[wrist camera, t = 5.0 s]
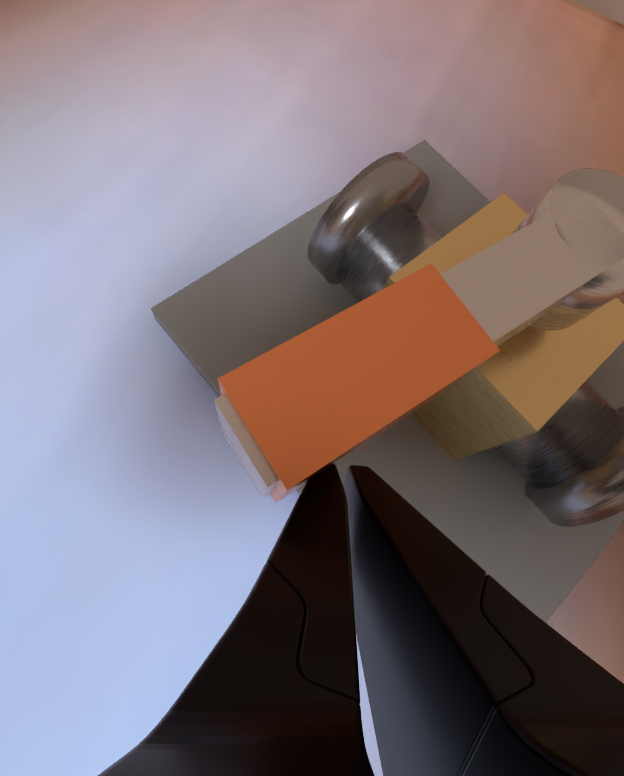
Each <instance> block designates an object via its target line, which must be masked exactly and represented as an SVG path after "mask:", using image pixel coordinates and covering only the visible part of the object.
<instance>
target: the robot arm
mask: <svg viewBox="0 0 624 776" xmlns="http://www.w3.org/2000/svg"><path fill="white" fill-rule="evenodd" d="M356 635H357V640H358V645H359V650H360V656H361V661H362V666H363V671H364V677H365V682H366V687H367V692H368V698H369V703H370V708H371V713H372V719H373V724H374V729H375V734H376V740H377V745H378V750H379V755H380V761H381V766H382V771H383V776H624V684H623V683H622V682H621V681H619V680H618V679H617V678H615V677H614V676H613V675H612V674H610V673H609V672H608V671H606V670H605V669H604V668H603V667H601V666H600V665H599V664H597V663H596V662H595V661H594V660H592V659H591V658H590V657H588V656H587V655H586V654H585V653H583V652H582V651H581V650H579V649H578V648H577V647H576V646H574V645H573V644H572V643H570V642H569V641H568V640H567V639H565V638H564V637H563V636H562V635H560V634H559V633H558V632H557V631H555V630H554V629H553V628H552V627H550V626H549V625H548V624H547V623H545V622H544V621H543V620H542V619H540V618H539V617H538V616H537V615H535V614H534V613H533V612H532V611H531V610H529V609H528V608H527V607H526V606H525V605H524V604H522V603H521V602H520V601H519V600H518V599H517V598H515V597H514V596H513V595H512V594H511V593H510V592H508V591H507V590H506V589H505V588H504V587H503V586H502V585H501V584H499V583H498V582H497V581H496V580H495V579H494V578H493V577H492V576H491V575H486V571H485V570H484V569H482V568H481V567H480V566H479V565H478V564H477V563H476V562H475V561H474V560H472V559H471V558H470V557H469V556H468V555H467V554H466V553H465V552H464V551H462V550H461V549H460V548H459V547H458V546H457V545H456V544H455V543H453V542H452V541H451V540H450V539H449V538H448V537H447V536H446V535H445V534H443V533H442V532H441V531H440V530H439V529H438V528H437V527H436V526H434V525H433V524H432V523H431V522H430V521H429V520H428V519H427V518H426V517H424V516H423V515H422V514H421V513H420V512H419V511H418V510H417V509H416V508H414V507H413V506H412V505H411V504H410V503H409V502H408V501H407V500H405V499H404V498H403V497H402V496H401V495H400V494H399V493H398V492H397V491H395V490H394V489H393V488H392V487H391V486H390V485H389V484H388V483H386V482H385V481H384V480H383V479H382V478H381V477H380V476H379V475H378V474H376V473H375V472H374V471H373V470H372V469H371V468H370V467H368V466H360V465H350V466H349V467H348V468H347V472H346V477H345V482H344V487H343V484H342V481H341V478H340V475H339V472H338V469H337V466H336V465H335V464H332V465H331V466H329V467H327V468H326V469H324V470H323V471H321V472H319V473H318V474H316V475H314V476H313V477H311V478H310V479H308V480H307V482H306V484H305V486H304V488H303V490H302V492H301V494H300V496H299V498H298V500H297V502H296V504H295V506H294V508H293V510H292V512H291V514H290V516H289V518H288V520H287V522H286V524H285V526H284V528H283V530H282V532H281V534H280V536H279V538H278V540H277V542H276V544H275V546H274V548H273V550H272V552H271V554H270V556H269V558H268V560H267V562H266V564H265V565H264V567H263V569H262V571H261V573H260V575H259V577H258V579H257V581H256V583H255V585H254V587H253V588H252V590H251V592H250V594H249V596H248V597H247V599H246V601H245V603H244V604H243V606H242V607H241V609H240V610H239V612H238V613H237V615H236V617H235V618H234V620H233V621H232V623H231V624H230V626H229V627H228V629H227V630H226V632H225V633H224V634H223V636H222V637H221V639H220V640H219V641H218V643H217V644H216V646H215V647H214V648H213V650H212V651H211V653H210V654H209V655H208V657H207V658H206V660H205V661H204V662H203V664H202V665H201V667H200V668H199V669H198V671H197V672H196V674H195V675H194V676H193V678H192V679H191V681H190V682H189V684H188V685H187V686H186V688H185V689H184V691H183V692H182V693H181V695H180V696H179V698H178V699H177V700H176V702H175V703H174V704H173V706H172V707H171V708H170V710H169V711H168V712H167V714H166V715H165V716H164V717H163V718H162V720H161V721H160V722H159V723H158V725H157V726H156V727H155V728H154V729H153V730H152V731H151V732H150V733H149V735H148V736H147V737H146V738H145V739H144V740H143V741H141V742H140V743H139V744H138V745H137V746H136V747H135V748H134V749H132V750H131V751H130V752H129V753H127V754H126V755H125V756H123V757H122V758H121V759H119V760H118V761H117V762H115V763H114V764H113V765H111V766H110V767H109V768H107V769H106V770H105V771H103V772H102V773H101V774H99V775H98V776H374V773H373V770H372V768H371V765H370V762H369V759H368V755H367V752H366V748H365V743H364V737H363V730H362V721H361V709H360V705H359V704H360V692H359V676H358V660H357V644H356Z"/></svg>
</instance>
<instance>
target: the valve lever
mask: <svg viewBox="0 0 624 776" xmlns="http://www.w3.org/2000/svg"><path fill="white" fill-rule="evenodd" d="M622 293H624V177H622V176H620V175H618V174H616V173H613V172H610V171H606V170H601V169H591V168H586V169H579V170H575V171H572V172H569V173H567V174H566V175H564V176H562V177H561V178H560V179H559V180H558V181H557V182H556V183H555V185H554V186H553V187H552V188H551V189H550V190H549V191H548V192H547V194H546V195H545V196H544V197H543V198H542V199H541V200H540V202H539V203H538V204H537V205H536V206H535V207H534V208H533V210H532V211H531V212H530V213H529V214H528V215H527V216H526V218H525V219H524V220H523V221H522V222H521V223H520V224H519V226H518V227H517V228H516V229H515V230H514V231H513V232H512V234H511V235H510V236H508V237H506V238H504V239H502V240H501V241H499V242H497V243H495V244H493V245H492V246H490V247H488V248H486V249H484V250H483V251H481V252H479V253H477V254H475V255H473V256H472V257H470V258H468V259H466V260H464V261H463V262H461V263H459V264H457V265H455V266H454V267H452V268H450V269H448V270H446V271H445V272H443V273H441V274H439V272H438V271H437V270H436V268H435V267H434V266H433V265H432V263H431V264H429V265H427V266H425V267H423V268H422V269H420V270H418V271H416V272H414V273H412V274H410V275H409V276H407V277H405V278H403V279H401V280H399V281H397V282H396V283H394V284H392V285H390V286H388V287H386V288H384V289H383V290H381V291H379V292H377V293H375V294H373V295H371V296H370V297H368V298H366V299H364V300H362V301H360V302H359V303H357V304H355V305H353V306H351V307H349V308H347V309H346V310H344V311H342V312H340V313H338V314H336V315H334V316H333V317H331V318H329V319H327V320H325V321H323V322H321V323H320V324H318V325H316V326H314V327H312V328H310V329H308V330H307V331H305V332H303V333H301V334H299V335H297V336H296V337H294V338H292V339H290V340H288V341H286V342H284V343H283V344H281V345H279V346H277V347H275V348H273V349H271V350H270V351H268V352H266V353H264V354H262V355H260V356H258V357H257V358H255V359H253V360H251V361H249V362H247V363H245V364H244V365H242V366H240V367H238V368H236V369H234V370H233V371H231V372H229V373H227V374H225V375H223V376H221V377H220V378H218V383H219V387H220V392H221V396H219V397H217V398H215V399H214V403H215V406H216V410H217V414H218V418H219V421H220V425H221V429H222V432H223V434H224V436H225V438H226V439H227V441H228V443H229V444H230V446H231V448H232V449H233V451H234V452H235V454H236V456H237V457H238V459H239V461H240V462H241V464H242V466H243V467H244V469H245V471H246V472H247V474H248V476H249V477H250V479H251V481H252V482H253V484H254V486H255V487H256V489H257V490H258V492H259V494H260V495H261V497H262V499H264V498H265V497H267V496H268V495H270V494H271V496H272V497H273V499H274V501H275V502H278V501H279V500H281V499H282V498H284V497H286V496H287V495H289V494H290V493H292V492H293V491H295V490H296V489H298V488H299V487H301V486H302V485H304V484H305V483H306V482H307V480H308V479H310V478H311V477H313V476H314V475H316V474H318V473H319V472H321V471H323V470H324V469H326V468H327V467H329V466H331V465H332V464H335V463H337V462H338V461H340V460H342V459H343V458H345V457H346V456H348V455H349V454H351V453H352V452H354V451H355V450H357V449H358V448H360V447H361V446H363V445H364V444H366V443H367V442H369V441H370V440H372V439H373V438H375V437H376V436H378V435H379V434H381V433H382V432H384V431H385V430H387V429H388V428H390V427H391V426H393V425H394V424H396V423H398V422H399V421H401V420H402V419H404V418H405V417H407V416H408V415H410V414H411V413H413V412H414V411H416V410H417V409H419V408H420V407H422V406H423V405H425V404H426V403H428V402H429V401H431V400H432V399H434V398H435V397H437V396H438V395H439V394H441V393H442V392H444V391H445V390H446V389H448V388H449V387H450V386H452V385H453V384H455V383H456V382H457V381H459V380H460V379H462V378H463V377H464V376H466V375H467V374H468V373H470V372H471V371H473V370H474V369H475V368H477V367H478V366H479V365H481V364H482V363H484V362H485V361H486V360H488V359H489V358H490V357H492V356H493V355H495V354H496V353H497V352H499V351H500V349H499V348H498V347H497V346H499V345H500V344H502V343H503V342H505V341H506V340H508V339H510V338H511V337H513V336H514V335H516V334H517V333H519V332H520V331H522V330H523V329H525V328H526V327H528V326H531V327H534V328H537V329H542V330H550V331H554V330H562V329H565V328H568V327H570V326H572V325H574V324H576V323H577V322H579V321H580V320H582V319H583V318H585V317H587V316H588V315H590V314H591V313H593V312H594V311H596V310H597V309H599V308H601V307H602V306H604V305H605V304H607V303H608V302H610V301H612V300H613V299H615V298H616V297H618V296H619V295H621V294H622Z"/></svg>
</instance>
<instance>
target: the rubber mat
mask: <svg viewBox="0 0 624 776" xmlns="http://www.w3.org/2000/svg"><path fill="white" fill-rule="evenodd" d="M404 153H405V154H406V155H407V156H408V157H409V158H410V159H411V160H412V161H413V162H414V163H415V164H416V165H417V166H418V167H419V168H421V169H422V170H423V171H424V172H425V173H426V174H427V175H428V177H429V188H428V192H427V194H426V197H425V199H424V201H423V203H422V205H421V207H420V208H419V210H418V212H417V213H418V214H419V215H420V216H421V217H422V218H423V219H424V220H425V221H426V222H427V223H428V224H429V225H430V226H431V227H432V228H433V229H434V230H435V231H436V232H437V233H438V234H439V235H440V236H441V237H442V238H443V237H444V236H446V235H447V234H448V233H450V232H451V231H452V230H454V229H455V228H457V227H458V226H459V225H461V224H462V223H463V222H465V221H466V220H467V219H469V218H470V217H471V216H473V215H474V214H476V213H477V212H478V211H480V210H481V209H482V208H484V207H485V206H486V205H488V204H489V203H490V202H489V201H488V200H487V199H486V198H485V197H484V196H483V195H482V194H481V193H480V192H479V191H478V190H477V189H475V188H474V187H473V186H472V185H471V184H470V183H469V182H468V181H467V180H466V179H465V178H464V177H463V176H462V175H461V174H460V173H459V172H458V171H457V170H455V169H454V168H453V167H452V166H451V165H450V164H449V163H448V162H447V161H446V160H445V159H444V158H443V157H442V156H441V155H440V154H439V153H438V152H437V151H435V150H434V149H433V148H432V147H431V146H430V145H429V144H428V143H427V142H426V141H425V140H424V141H422V142H421V143H419V144H417V145H416V146H414V147H413V148H411V149H409V150H408V151H406V152H404ZM339 193H340V192H339ZM339 193H338V194H339ZM338 194H336V195H335V196H333V197H331V198H330V199H328V200H326V201H325V202H323V203H322V204H320V205H318V206H317V207H315V208H313V209H312V210H310V211H309V212H307V213H305V214H304V215H302V216H300V217H299V218H297V219H296V220H294V221H292V222H291V223H289V224H287V225H286V226H284V227H283V228H281V229H279V230H278V231H276V232H274V233H273V234H271V235H270V236H268V237H266V238H265V239H263V240H261V241H260V242H258V243H257V244H255V245H253V246H252V247H250V248H248V249H247V250H245V251H244V252H242V253H240V254H239V255H237V256H235V257H234V258H232V259H231V260H229V261H227V262H226V263H224V264H223V265H221V266H219V267H218V268H216V269H214V270H213V271H211V272H210V273H208V274H206V275H205V276H203V277H201V278H200V279H198V280H197V281H195V282H193V283H192V284H190V285H188V286H187V287H185V288H184V289H182V290H180V291H179V292H177V293H175V294H174V295H172V296H171V297H169V298H167V299H166V300H164V301H162V302H161V303H159V304H158V305H156V306H154V307H153V308H151V310H152V312H153V314H154V317H155V319H156V320H157V321H158V323H159V324H160V325H161V326H162V327H163V329H164V330H165V331H166V332H167V333H168V335H169V336H170V337H171V338H172V340H173V341H174V342H175V343H176V344H177V346H178V347H179V348H180V349H181V350H182V352H183V353H184V354H185V355H186V357H187V358H188V359H189V360H190V361H191V363H192V364H193V365H194V366H195V367H196V369H197V370H198V371H199V372H200V374H201V375H202V376H203V377H204V378H205V380H206V381H207V382H208V383H209V384H210V386H211V387H212V388H213V389H214V391H215V392H216V393H217V394H218V395H219V396H221V392H220V387H219V383H218V378H220V377H221V376H223V375H225V374H227V373H229V372H231V371H233V370H234V369H236V368H238V367H240V366H242V365H244V364H245V363H247V362H249V361H251V360H253V359H255V358H257V357H258V356H260V355H262V354H264V353H266V352H268V351H270V350H271V349H273V348H275V347H277V346H279V345H281V344H283V343H284V342H286V341H288V340H290V339H292V338H294V337H296V336H297V335H299V334H301V333H303V332H305V331H307V330H308V329H310V328H312V327H314V326H316V325H318V324H320V323H321V322H323V321H325V320H327V319H329V318H331V317H333V316H334V315H336V314H338V313H340V312H342V311H344V310H346V309H347V308H349V307H351V306H353V305H355V304H357V303H358V301H357V300H356V299H355V298H354V297H353V296H352V295H351V294H350V293H349V292H348V291H347V290H346V289H345V288H344V286H343V285H342V284H341V283H339V284H330V283H329V282H328V281H327V280H326V279H325V278H324V277H323V276H322V275H321V274H320V273H319V272H318V271H317V270H316V269H315V267H314V266H313V265H312V264H311V263H310V262H309V260H308V254H307V252H308V246H309V242H310V239H311V237H312V234H313V232H314V230H315V228H316V226H317V224H318V222H319V221H320V219H321V217H322V216H323V214H324V213H325V211H326V210H327V208H328V207H329V206H330V204H331V203H332V202H333V200H334V199H335V198H336V197H337V196H338ZM587 381H588V382H589V383H590V384H591V385H592V386H593V387H594V388H595V389H596V390H597V391H598V392H599V393H600V394H601V395H602V396H603V397H604V398H605V399H606V400H607V401H608V402H609V403H610V404H611V405H612V406H613V407H614V408H615V409H618V408H621V407H623V406H624V341H623V342H622V343H621V344H620V345H619V346H618V347H617V348H616V349H615V350H614V351H613V352H612V354H611V355H610V356H609V357H608V358H607V359H606V360H605V361H604V362H603V363H602V364H601V365H600V366H599V367H598V368H597V369H596V370H595V371H594V372H593V374H592V375H591V376H590V377H589V378H588V379H587ZM335 465H336V466H337V469H338V472H339V475H340V478H341V481H342V484H343V487H344V482H345V477H346V472H347V468H348V467H349V466H350V465H360V466H368V467H370V468H371V469H372V470H373V471H374V472H375V473H376V474H378V475H379V476H380V477H381V478H382V479H383V480H384V481H385V482H386V483H388V484H389V485H390V486H391V487H392V488H393V489H394V490H395V491H397V492H398V493H399V494H400V495H401V496H402V497H403V498H404V499H405V500H407V501H408V502H409V503H410V504H411V505H412V506H413V507H414V508H416V509H417V510H418V511H419V512H420V513H421V514H422V515H423V516H424V517H426V518H427V519H428V520H429V521H430V522H431V523H432V524H433V525H434V526H436V527H437V528H438V529H439V530H440V531H441V532H442V533H443V534H445V535H446V536H447V537H448V538H449V539H450V540H451V541H452V542H453V543H455V544H456V545H457V546H458V547H459V548H460V549H461V550H462V551H464V552H465V553H466V554H467V555H468V556H469V557H470V558H471V559H472V560H474V561H475V562H476V563H477V564H478V565H479V566H480V567H481V568H482V569H484V570H485V571H486V575H491V576H492V577H493V578H494V579H495V580H496V581H497V582H498V583H499V584H501V585H502V586H503V587H504V588H505V589H506V590H507V591H508V592H510V593H511V594H512V595H513V596H514V597H515V598H517V599H518V600H519V601H520V602H521V603H522V604H524V605H525V606H526V607H527V608H528V609H529V610H531V611H532V612H533V613H534V614H535V615H537V616H538V617H539V618H540V619H542V620H543V621H544V622H545V623H546V622H547V621H548V620H549V618H550V617H551V616H552V614H553V613H554V612H555V611H556V609H557V608H558V607H559V605H560V604H561V603H562V601H563V600H564V599H565V598H566V596H567V595H568V594H569V592H570V591H571V590H572V588H573V587H574V586H575V585H576V583H577V582H578V581H579V579H580V578H581V577H582V575H583V574H584V573H585V572H586V570H587V569H588V568H589V566H590V565H591V564H592V562H593V561H594V560H595V559H596V557H597V556H598V555H599V553H600V552H601V551H602V549H603V548H604V547H605V546H606V544H607V543H608V542H609V540H610V539H611V538H612V536H613V535H614V534H615V533H616V531H617V530H618V529H619V527H620V526H621V525H622V523H623V522H624V511H622V512H620V513H618V514H615V515H613V516H611V517H608V518H606V519H603V520H600V521H597V522H594V523H590V524H587V525H581V526H574V527H562V526H558V525H555V524H553V523H551V522H550V521H549V520H548V519H547V518H546V517H545V516H544V514H543V513H542V512H541V511H540V510H539V509H538V508H537V507H536V506H535V505H534V504H533V503H532V502H531V500H530V499H529V498H528V497H527V496H526V494H525V485H526V482H525V481H524V479H523V478H522V477H521V476H520V475H519V474H518V473H517V472H516V471H515V470H514V469H513V468H512V467H511V465H510V464H509V463H508V462H507V461H506V460H505V459H504V458H503V457H502V456H501V455H500V454H499V453H498V452H497V450H496V449H495V448H494V447H492V448H489V449H486V450H483V451H480V452H477V453H475V454H472V455H469V456H466V457H463V458H460V459H457V460H455V461H453V460H452V459H451V457H450V456H449V455H448V454H447V453H446V452H445V451H444V450H443V449H442V447H441V446H440V445H439V444H438V443H437V442H436V441H435V440H434V439H433V438H432V436H431V435H430V434H429V433H428V432H427V431H426V430H425V429H424V428H423V427H422V425H421V424H420V423H419V422H418V421H417V420H416V419H415V418H414V417H413V416H412V414H410V415H408V416H407V417H405V418H404V419H402V420H401V421H399V422H398V423H396V424H394V425H393V426H391V427H390V428H388V429H387V430H385V431H384V432H382V433H381V434H379V435H378V436H376V437H375V438H373V439H372V440H370V441H369V442H367V443H366V444H364V445H363V446H361V447H360V448H358V449H357V450H355V451H354V452H352V453H351V454H349V455H348V456H346V457H345V458H343V459H342V460H340V461H338V462H337V463H335ZM305 484H306V483H305ZM305 484H304V485H302V486H301V487H299V488H298V489H296V490H297V491H298V493H299V494H301V492H302V490H303V488H304V486H305Z"/></svg>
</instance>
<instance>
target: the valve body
mask: <svg viewBox="0 0 624 776" xmlns="http://www.w3.org/2000/svg"><path fill="white" fill-rule="evenodd" d="M428 188H429V177H428V175H427V174H426V173H425V172H424V171H423V170H422V169H421V168H419V167H418V166H417V165H416V164H415V163H414V162H413V161H412V160H411V159H410V158H409V157H408V156H407V155H406V154H405V153H402V152H395V153H391V154H388V155H386V156H384V157H382V158H380V159H378V160H376V161H375V162H373V163H372V164H370V165H369V166H368V167H366V168H365V169H364V170H363V171H361V172H360V173H359V174H358V175H357V176H356V177H355V178H354V179H353V180H352V181H350V182H349V183H348V184H347V185H346V187H345V188H344V189H343V190H342V191H341V192H340V193H339V194H338V196H337V197H336V198H335V199H334V200H333V202H332V203H331V204H330V206H329V207H328V208H327V210H326V211H325V213H324V214H323V216H322V217H321V219H320V221H319V222H318V224H317V226H316V228H315V230H314V232H313V234H312V237H311V239H310V242H309V246H308V252H307V254H308V260H309V262H310V263H311V264H312V265H313V266H314V267H315V269H316V270H317V271H318V272H319V273H320V274H321V275H322V276H323V277H324V278H325V279H326V280H327V281H328V282H329V283H330V284H339V283H341V284H342V285H343V286H344V288H345V289H346V290H347V291H348V292H349V293H350V294H351V295H352V296H353V297H354V298H355V299H356V300H357V301H358V303H359V302H360V301H362V300H364V299H366V298H368V297H370V296H371V295H373V294H375V293H377V292H379V291H381V290H383V289H384V288H386V287H388V286H390V285H392V284H394V283H396V282H397V281H399V280H401V279H403V278H405V277H407V276H409V275H410V274H412V273H414V272H416V271H418V270H420V269H422V268H423V267H425V266H427V265H429V264H431V263H432V265H433V266H434V267H435V268H436V270H437V271H438V272H439V274H441V273H443V272H445V271H446V270H448V269H450V268H452V267H454V266H455V265H457V264H459V263H461V262H463V261H464V260H466V259H468V258H470V257H472V256H473V255H475V254H477V253H479V252H481V251H483V250H484V249H486V248H488V247H490V246H492V245H493V244H495V243H497V242H499V241H501V240H502V239H504V238H506V237H508V236H510V235H511V234H512V232H513V231H514V230H515V229H516V228H517V227H518V226H519V224H520V223H521V222H522V221H523V220H524V219H525V218H526V216H527V215H528V214H527V213H526V212H525V211H524V210H523V209H522V208H520V207H519V206H518V205H517V204H516V203H515V202H514V201H513V200H512V199H511V198H510V197H509V196H508V195H507V194H506V193H505V192H504V193H503V194H501V195H500V196H499V197H497V198H496V199H495V200H493V201H492V202H491V203H489V204H488V205H486V206H485V207H484V208H482V209H481V210H480V211H478V212H477V213H476V214H474V215H473V216H471V217H470V218H469V219H467V220H466V221H465V222H463V223H462V224H461V225H459V226H458V227H457V228H455V229H454V230H452V231H451V232H450V233H448V234H447V235H446V236H444V237H443V238H442V237H441V236H440V235H439V234H438V233H437V232H436V231H435V230H434V229H433V228H432V227H431V226H430V225H429V224H428V223H427V222H426V221H425V220H424V219H423V218H422V217H421V216H420V215H419V214H418V213H417V212H418V210H419V208H420V207H421V205H422V203H423V201H424V199H425V197H426V194H427V192H428ZM623 341H624V304H623V303H622V302H621V301H620V300H619V299H618V298H615V299H613V300H612V301H610V302H608V303H607V304H605V305H604V306H602V307H601V308H599V309H597V310H596V311H594V312H593V313H591V314H590V315H588V316H587V317H585V318H583V319H582V320H580V321H579V322H577V323H576V324H574V325H572V326H570V327H568V328H565V329H562V330H554V331H550V330H542V329H537V328H534V327H531V326H528V327H526V328H525V329H523V330H522V331H520V332H519V333H517V334H516V335H514V336H513V337H511V338H510V339H508V340H506V341H505V342H503V343H502V344H500V345H499V346H497V347H498V348H499V349H500V351H499V352H497V353H496V354H495V355H493V356H492V357H490V358H489V359H488V360H486V361H485V362H484V363H482V364H481V365H479V366H478V367H477V368H475V369H474V370H473V371H471V372H470V373H468V374H467V375H466V376H464V377H463V378H462V379H460V380H459V381H457V382H456V383H455V384H453V385H452V386H450V387H449V388H448V389H446V390H445V391H444V392H442V393H441V394H439V395H438V396H437V397H435V398H434V399H432V400H431V401H429V402H428V403H426V404H425V405H423V406H422V407H420V408H419V409H417V410H416V411H414V412H413V413H411V414H412V416H413V417H414V418H415V419H416V420H417V421H418V422H419V423H420V424H421V425H422V427H423V428H424V429H425V430H426V431H427V432H428V433H429V434H430V435H431V436H432V438H433V439H434V440H435V441H436V442H437V443H438V444H439V445H440V446H441V447H442V449H443V450H444V451H445V452H446V453H447V454H448V455H449V456H450V457H451V459H452V460H453V461H455V460H457V459H460V458H463V457H466V456H469V455H472V454H475V453H477V452H480V451H483V450H486V449H489V448H492V447H494V448H495V449H496V450H497V452H498V453H499V454H500V455H501V456H502V457H503V458H504V459H505V460H506V461H507V462H508V463H509V464H510V465H511V467H512V468H513V469H514V470H515V471H516V472H517V473H518V474H519V475H520V476H521V477H522V478H523V479H524V481H525V482H526V485H525V494H526V496H527V497H528V498H529V499H530V500H531V502H532V503H533V504H534V505H535V506H536V507H537V508H538V509H539V510H540V511H541V512H542V513H543V514H544V516H545V517H546V518H547V519H548V520H549V521H550V522H551V523H553V524H555V525H558V526H562V527H574V526H581V525H587V524H590V523H594V522H597V521H600V520H603V519H606V518H608V517H611V516H613V515H615V514H618V513H620V512H622V511H624V406H623V407H621V408H618V409H615V408H614V407H613V406H612V405H611V404H610V403H609V402H608V401H607V400H606V399H605V398H604V397H603V396H602V395H601V394H600V393H599V392H598V391H597V390H596V389H595V388H594V387H593V386H592V385H591V384H590V383H589V382H588V381H587V379H588V378H589V377H590V376H591V375H592V374H593V372H594V371H595V370H596V369H597V368H598V367H599V366H600V365H601V364H602V363H603V362H604V361H605V360H606V359H607V358H608V357H609V356H610V355H611V354H612V352H613V351H614V350H615V349H616V348H617V347H618V346H619V345H620V344H621V343H622V342H623Z"/></svg>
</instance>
